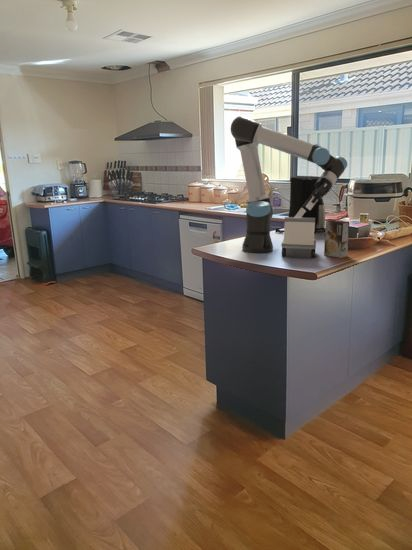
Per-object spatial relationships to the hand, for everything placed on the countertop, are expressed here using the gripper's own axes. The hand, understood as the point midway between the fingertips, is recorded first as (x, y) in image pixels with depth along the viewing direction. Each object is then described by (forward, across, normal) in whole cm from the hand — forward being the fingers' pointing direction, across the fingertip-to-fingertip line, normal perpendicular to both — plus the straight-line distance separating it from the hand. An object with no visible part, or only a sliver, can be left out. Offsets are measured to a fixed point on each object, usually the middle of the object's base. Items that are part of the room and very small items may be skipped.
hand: (302, 213), depth 201 cm
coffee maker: (-29, +65, -12) cm, 72 cm away
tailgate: (+15, -2, -7) cm, 17 cm away
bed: (+14, +7, -11) cm, 19 cm away
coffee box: (+5, +2, -24) cm, 25 cm away
